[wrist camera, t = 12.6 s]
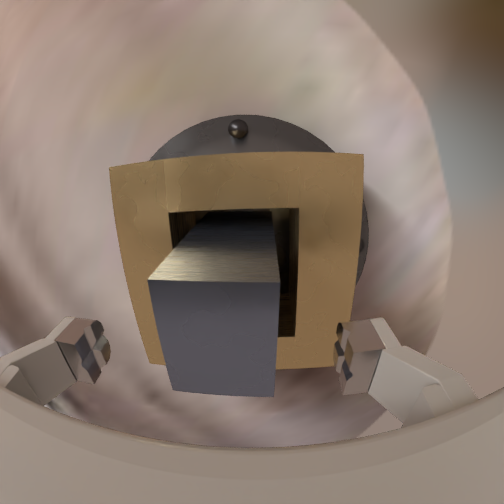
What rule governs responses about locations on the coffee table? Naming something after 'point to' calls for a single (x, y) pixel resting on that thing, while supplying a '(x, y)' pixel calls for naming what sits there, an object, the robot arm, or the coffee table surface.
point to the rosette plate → (252, 199)
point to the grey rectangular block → (220, 306)
